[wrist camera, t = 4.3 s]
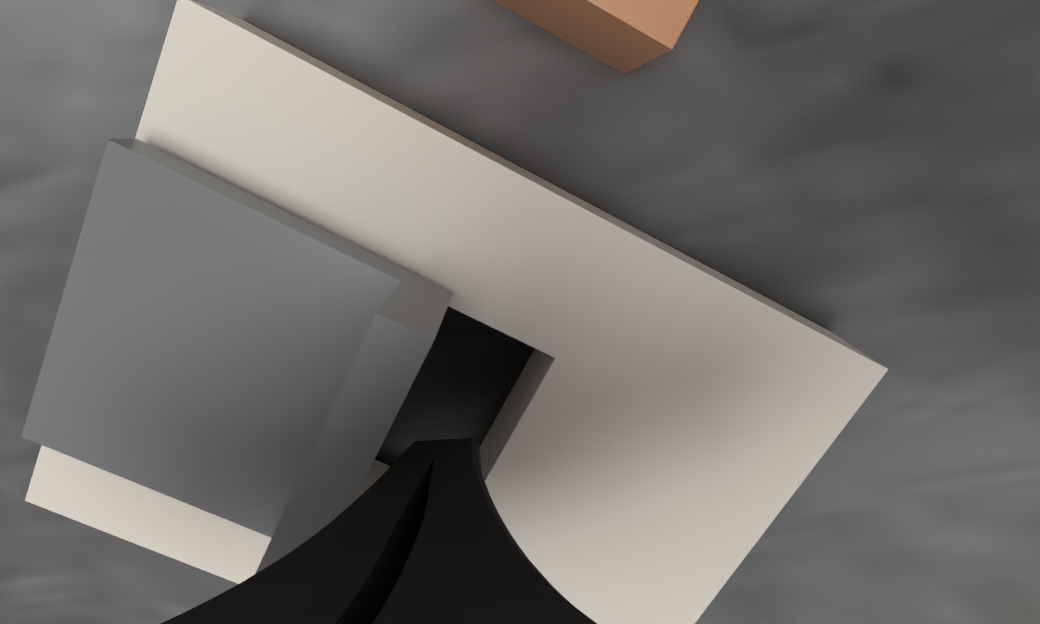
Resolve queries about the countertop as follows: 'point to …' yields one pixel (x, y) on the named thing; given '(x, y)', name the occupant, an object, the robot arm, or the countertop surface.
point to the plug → (611, 26)
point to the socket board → (522, 315)
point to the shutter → (227, 349)
